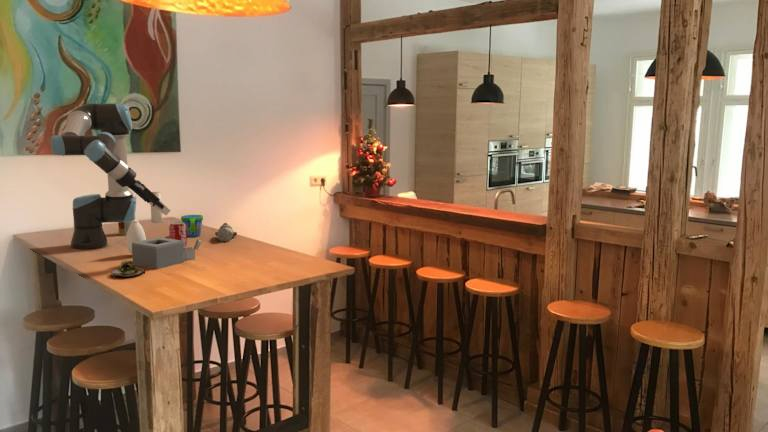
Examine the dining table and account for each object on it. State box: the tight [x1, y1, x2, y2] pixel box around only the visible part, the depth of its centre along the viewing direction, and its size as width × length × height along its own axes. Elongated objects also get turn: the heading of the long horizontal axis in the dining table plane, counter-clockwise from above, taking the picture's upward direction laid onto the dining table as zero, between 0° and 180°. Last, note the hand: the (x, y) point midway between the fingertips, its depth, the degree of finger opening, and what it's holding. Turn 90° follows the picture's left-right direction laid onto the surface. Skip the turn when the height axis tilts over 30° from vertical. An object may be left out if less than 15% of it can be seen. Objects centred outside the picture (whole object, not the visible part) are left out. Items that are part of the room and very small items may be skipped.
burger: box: [110, 258, 146, 279], centre depth 229 cm, size 12×12×8 cm
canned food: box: [117, 221, 132, 236], centre depth 306 cm, size 8×8×12 cm
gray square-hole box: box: [131, 236, 185, 270], centre depth 247 cm, size 14×14×9 cm
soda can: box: [168, 221, 188, 250], centre depth 269 cm, size 7×7×13 cm
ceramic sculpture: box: [214, 222, 238, 243], centre depth 297 cm, size 11×9×15 cm
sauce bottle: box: [125, 214, 147, 254], centre depth 260 cm, size 8×8×18 cm
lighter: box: [184, 239, 202, 261], centre depth 256 cm, size 7×2×8 cm, turn 128°
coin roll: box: [150, 191, 163, 224], centre depth 244 cm, size 4×4×12 cm
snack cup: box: [180, 214, 204, 238], centre depth 304 cm, size 16×10×10 cm
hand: (165, 212), depth 247 cm, fingers closed on coin roll, 4 cm apart
